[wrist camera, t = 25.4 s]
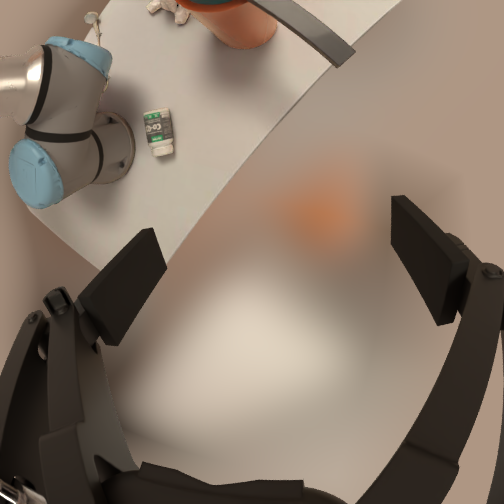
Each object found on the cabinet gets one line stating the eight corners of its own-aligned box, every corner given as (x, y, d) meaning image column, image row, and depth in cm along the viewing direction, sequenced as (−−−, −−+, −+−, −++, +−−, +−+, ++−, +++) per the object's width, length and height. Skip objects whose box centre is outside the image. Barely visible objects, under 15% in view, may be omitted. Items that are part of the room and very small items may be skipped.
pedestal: (220, 55, 40) (175, 25, 21) (209, 6, 35) (163, -41, 16) (283, 43, 37) (279, 0, 19) (270, -7, 32) (258, -66, 14)
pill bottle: (159, 108, 41) (167, 155, 45) (173, 106, 45) (180, 149, 49) (137, 114, 42) (145, 158, 46) (152, 112, 46) (159, 153, 50)
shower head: (87, 97, 41) (73, 21, 32) (97, 96, 44) (82, 23, 35) (107, 85, 40) (92, 8, 31) (116, 85, 43) (101, 11, 34)
